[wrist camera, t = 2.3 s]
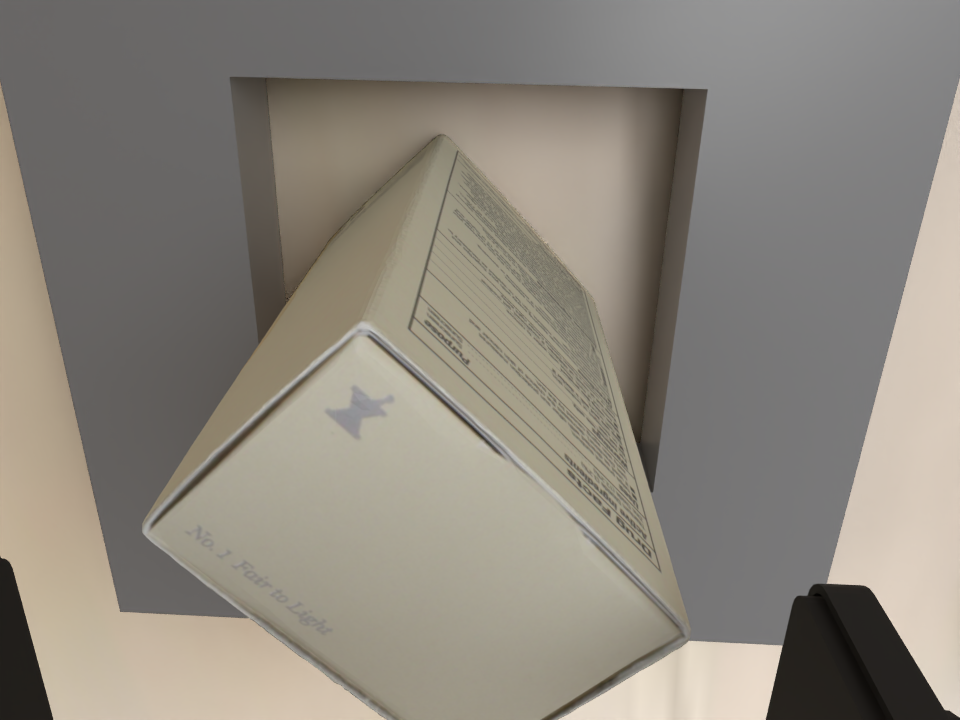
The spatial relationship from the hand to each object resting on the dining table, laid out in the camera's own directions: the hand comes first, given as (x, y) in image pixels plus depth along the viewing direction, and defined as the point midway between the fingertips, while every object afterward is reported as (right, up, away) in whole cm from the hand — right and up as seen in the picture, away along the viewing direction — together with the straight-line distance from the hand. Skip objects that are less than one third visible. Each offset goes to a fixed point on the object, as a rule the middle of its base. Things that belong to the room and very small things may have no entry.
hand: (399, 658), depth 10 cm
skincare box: (+1, +6, +12) cm, 13 cm away
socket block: (+1, +6, +11) cm, 13 cm away
